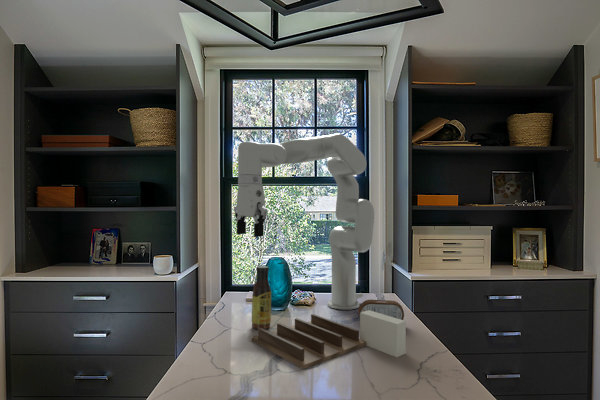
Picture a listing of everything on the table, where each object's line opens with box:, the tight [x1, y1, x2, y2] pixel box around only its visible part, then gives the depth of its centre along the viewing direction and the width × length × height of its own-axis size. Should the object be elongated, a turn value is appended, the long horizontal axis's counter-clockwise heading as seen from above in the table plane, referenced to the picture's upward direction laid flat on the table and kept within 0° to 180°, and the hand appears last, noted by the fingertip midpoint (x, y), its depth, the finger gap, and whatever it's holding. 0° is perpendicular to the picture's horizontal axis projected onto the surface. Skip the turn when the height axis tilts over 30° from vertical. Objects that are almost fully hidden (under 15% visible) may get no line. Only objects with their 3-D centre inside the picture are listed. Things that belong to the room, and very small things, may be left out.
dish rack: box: [250, 313, 367, 370], centre depth 110 cm, size 24×24×4 cm
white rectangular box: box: [359, 310, 407, 358], centre depth 106 cm, size 4×13×9 cm, turn 40°
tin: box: [357, 299, 405, 320], centre depth 125 cm, size 15×3×8 cm, turn 84°
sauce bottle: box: [251, 265, 272, 330], centre depth 123 cm, size 6×6×20 cm
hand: (249, 235), depth 119 cm, fingers open, 9 cm apart
